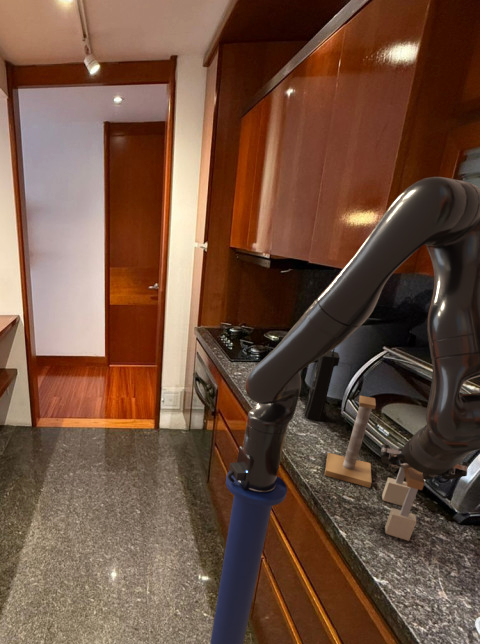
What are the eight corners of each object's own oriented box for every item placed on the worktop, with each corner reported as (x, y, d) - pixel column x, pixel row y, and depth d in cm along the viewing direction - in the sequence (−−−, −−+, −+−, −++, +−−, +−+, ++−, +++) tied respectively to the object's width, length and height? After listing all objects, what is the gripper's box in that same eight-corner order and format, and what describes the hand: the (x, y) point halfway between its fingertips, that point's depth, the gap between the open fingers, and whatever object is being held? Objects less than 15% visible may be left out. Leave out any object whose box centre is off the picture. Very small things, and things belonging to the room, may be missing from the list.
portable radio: (303, 409, 138) (318, 341, 128) (323, 412, 135) (339, 343, 126) (304, 418, 131) (319, 348, 122) (324, 422, 129) (341, 350, 119)
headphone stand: (324, 475, 102) (343, 403, 94) (326, 457, 109) (344, 389, 101) (370, 487, 97) (394, 413, 89) (369, 468, 104) (391, 397, 96)
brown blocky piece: (385, 533, 82) (405, 479, 77) (382, 494, 94) (398, 445, 89) (408, 541, 80) (430, 486, 75) (402, 500, 92) (420, 450, 87)
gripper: (489, 440, 68) (452, 464, 82) (390, 420, 75) (372, 446, 89) (486, 481, 66) (448, 498, 80) (384, 456, 73) (366, 476, 87)
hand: (408, 470), depth 84 cm, fingers open, 5 cm apart
